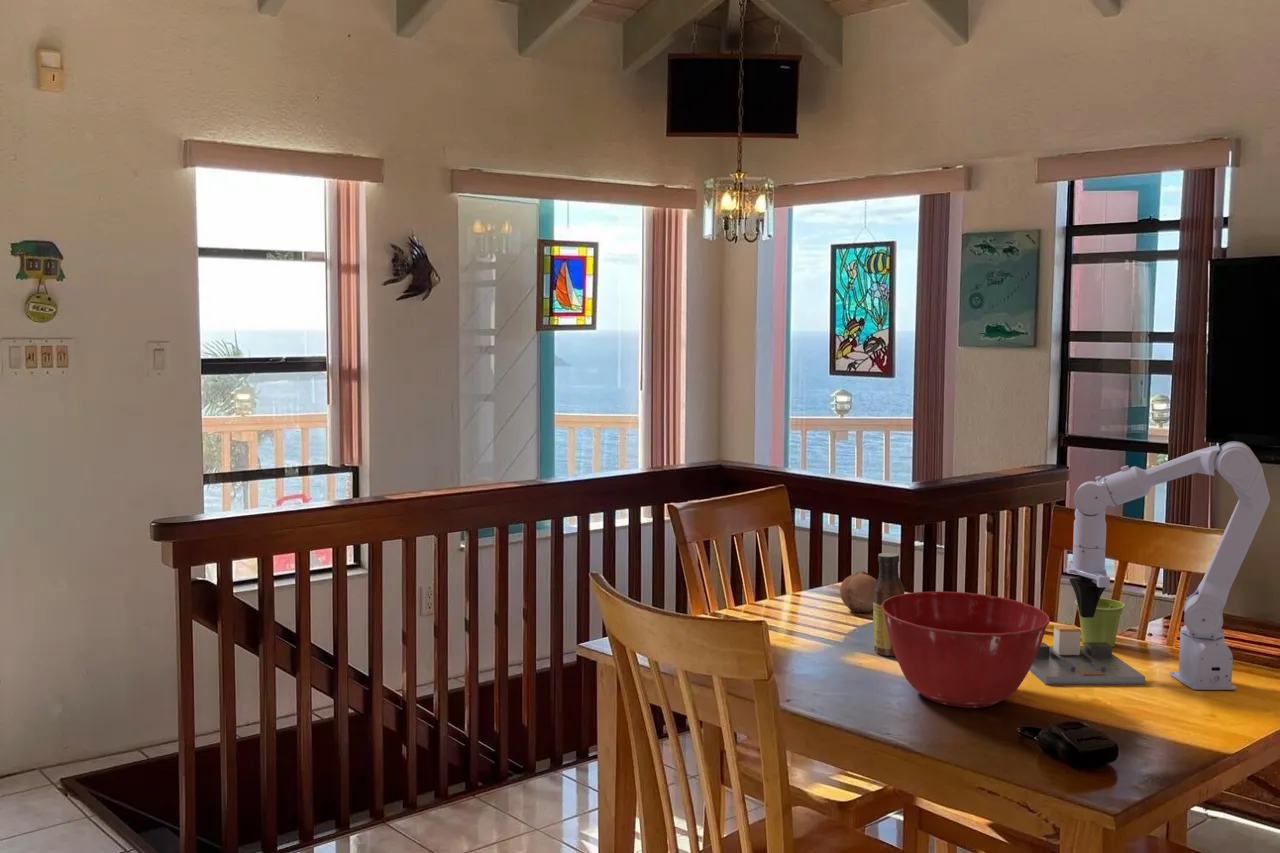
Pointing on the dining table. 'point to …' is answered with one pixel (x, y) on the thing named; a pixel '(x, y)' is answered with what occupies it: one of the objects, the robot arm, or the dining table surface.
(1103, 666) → the panel
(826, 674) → the dining table surface
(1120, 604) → the plant pot
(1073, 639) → the white orange block
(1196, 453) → the robot arm
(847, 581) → the onion
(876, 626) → the sauce bottle
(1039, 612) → the mixing bowl
